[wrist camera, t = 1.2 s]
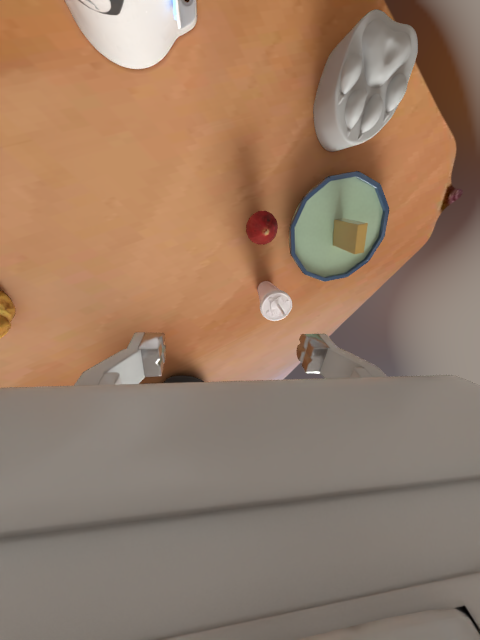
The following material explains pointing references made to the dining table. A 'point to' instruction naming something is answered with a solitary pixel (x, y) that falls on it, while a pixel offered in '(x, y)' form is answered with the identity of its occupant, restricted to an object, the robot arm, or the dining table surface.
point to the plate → (322, 225)
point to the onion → (261, 227)
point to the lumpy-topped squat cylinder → (363, 81)
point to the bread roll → (5, 313)
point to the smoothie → (273, 301)
